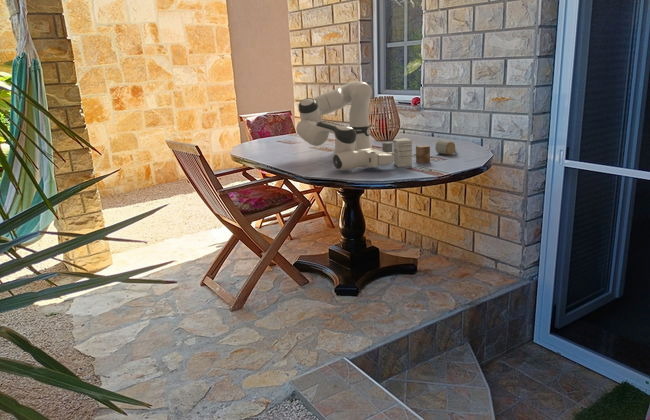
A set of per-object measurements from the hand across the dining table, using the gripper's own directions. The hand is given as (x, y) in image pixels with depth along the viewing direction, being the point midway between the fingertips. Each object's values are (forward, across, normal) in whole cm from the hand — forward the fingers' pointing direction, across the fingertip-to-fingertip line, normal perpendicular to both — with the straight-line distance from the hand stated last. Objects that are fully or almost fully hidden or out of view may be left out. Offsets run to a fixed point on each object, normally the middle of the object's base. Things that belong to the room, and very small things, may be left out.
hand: (393, 154), depth 244 cm
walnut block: (+16, 0, -6) cm, 18 cm away
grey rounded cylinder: (+4, -15, -6) cm, 17 cm away
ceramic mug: (+37, -11, -6) cm, 39 cm away
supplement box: (+5, 0, -6) cm, 8 cm away
